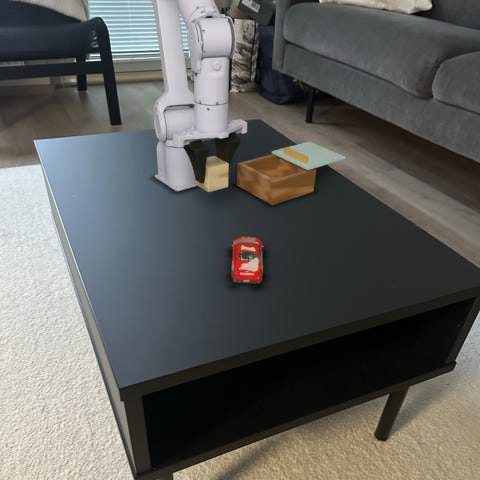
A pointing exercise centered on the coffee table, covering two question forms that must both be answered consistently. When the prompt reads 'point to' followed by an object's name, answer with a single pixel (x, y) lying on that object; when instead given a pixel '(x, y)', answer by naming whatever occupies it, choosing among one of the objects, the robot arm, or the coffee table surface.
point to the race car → (247, 260)
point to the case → (274, 179)
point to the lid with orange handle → (308, 155)
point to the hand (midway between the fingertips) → (211, 178)
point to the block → (215, 174)
